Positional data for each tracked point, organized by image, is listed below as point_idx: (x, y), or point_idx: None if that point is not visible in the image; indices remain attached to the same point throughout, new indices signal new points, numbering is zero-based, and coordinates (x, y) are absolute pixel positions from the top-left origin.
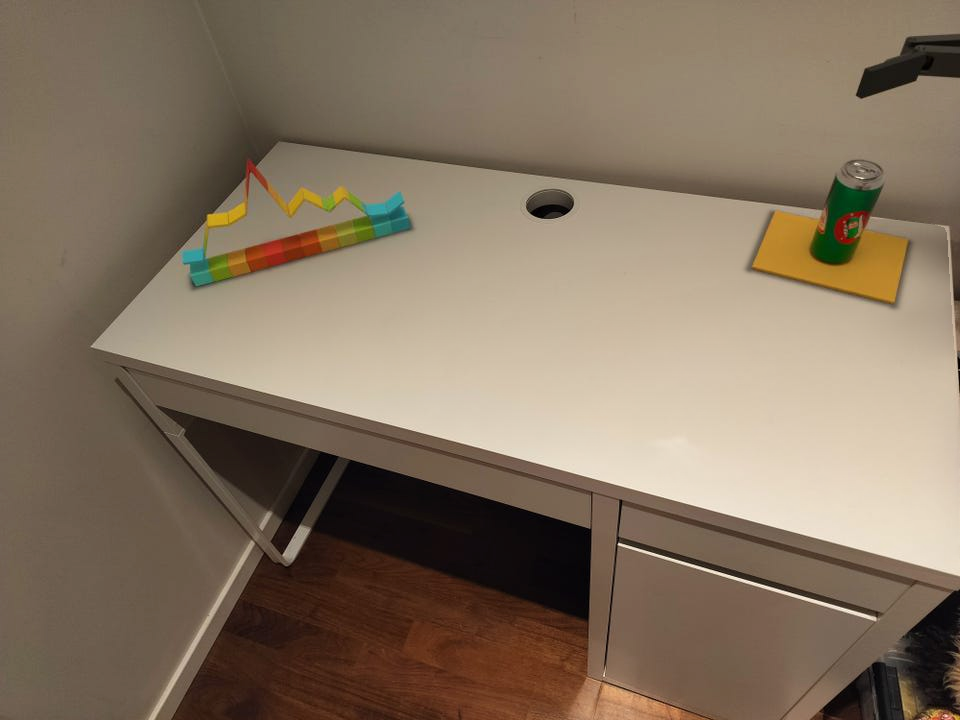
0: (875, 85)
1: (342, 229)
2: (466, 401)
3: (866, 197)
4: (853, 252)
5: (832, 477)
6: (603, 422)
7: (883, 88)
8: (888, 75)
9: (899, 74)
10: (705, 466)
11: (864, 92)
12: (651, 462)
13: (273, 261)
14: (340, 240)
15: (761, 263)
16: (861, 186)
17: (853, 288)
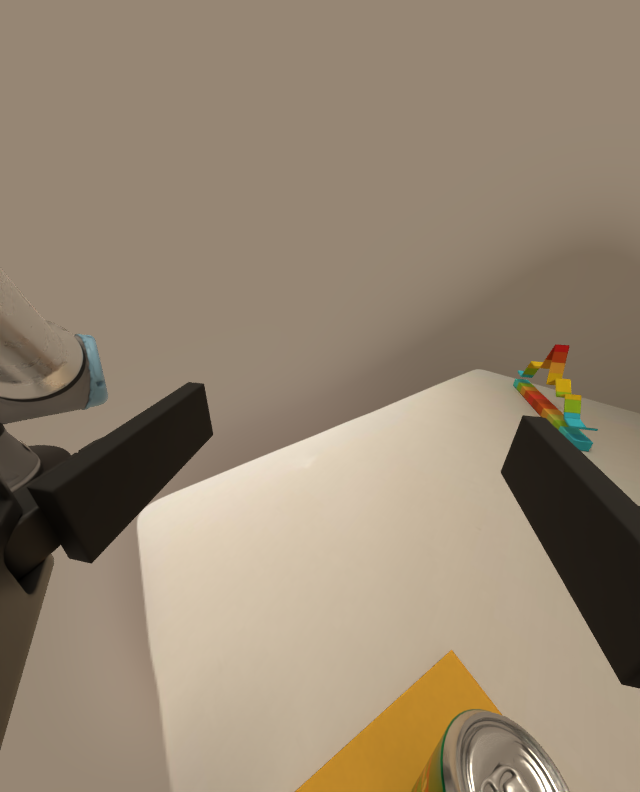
0: (521, 473)
1: (557, 416)
2: (390, 419)
3: (437, 753)
4: None
5: (221, 505)
6: (342, 448)
7: (532, 513)
8: (546, 482)
9: (571, 529)
10: (285, 464)
11: (506, 461)
12: (306, 450)
13: (529, 399)
14: (547, 417)
15: (454, 669)
16: (456, 729)
17: (345, 762)
